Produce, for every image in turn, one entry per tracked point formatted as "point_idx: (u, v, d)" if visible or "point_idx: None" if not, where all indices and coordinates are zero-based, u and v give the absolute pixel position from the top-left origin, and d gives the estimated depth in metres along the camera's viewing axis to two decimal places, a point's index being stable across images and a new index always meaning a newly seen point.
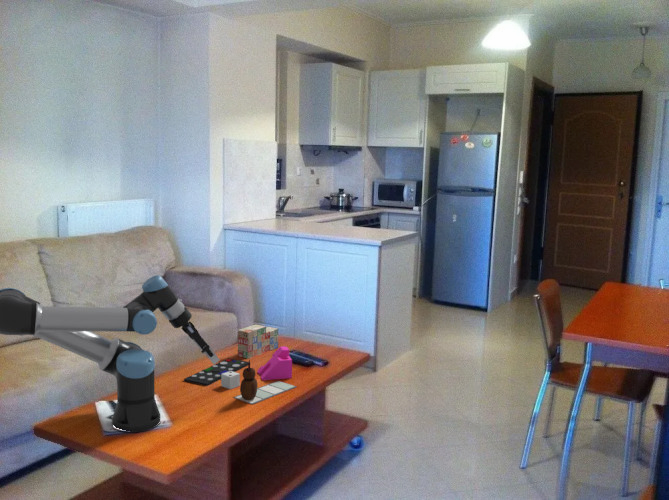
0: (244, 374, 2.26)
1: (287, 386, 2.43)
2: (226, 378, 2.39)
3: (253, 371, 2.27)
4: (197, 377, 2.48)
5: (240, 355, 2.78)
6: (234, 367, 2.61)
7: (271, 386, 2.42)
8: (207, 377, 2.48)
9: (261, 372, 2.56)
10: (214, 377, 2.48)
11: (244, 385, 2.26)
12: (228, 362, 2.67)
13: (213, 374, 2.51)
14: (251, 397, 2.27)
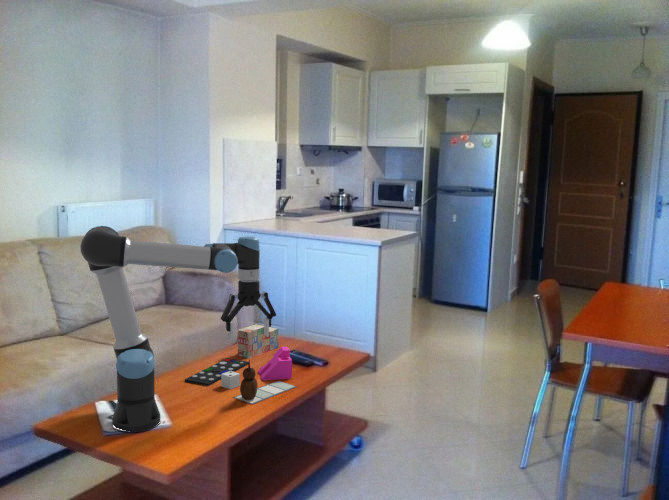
0: (244, 374, 2.26)
1: (287, 386, 2.43)
2: (226, 378, 2.39)
3: (253, 371, 2.27)
4: (198, 377, 2.47)
5: (240, 355, 2.79)
6: (234, 367, 2.61)
7: (271, 386, 2.42)
8: (208, 377, 2.48)
9: (262, 372, 2.56)
10: (215, 377, 2.48)
11: (244, 385, 2.26)
12: (227, 362, 2.67)
13: (213, 374, 2.51)
14: (251, 397, 2.27)
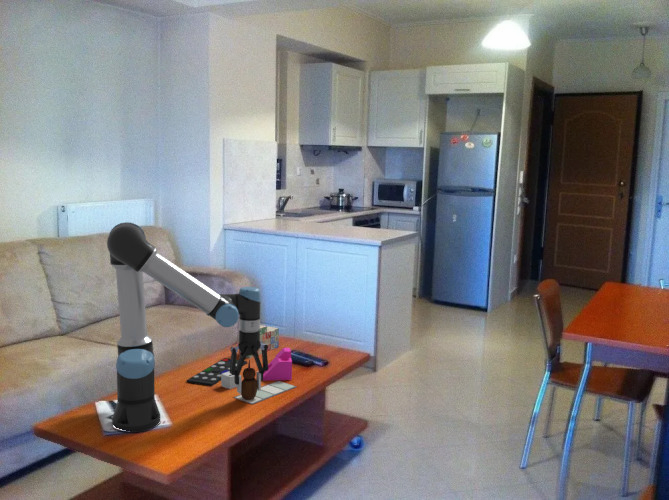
0: (244, 374, 2.26)
1: (287, 386, 2.43)
2: (226, 378, 2.39)
3: (253, 371, 2.27)
4: (199, 378, 2.47)
5: None
6: None
7: (271, 386, 2.42)
8: (210, 377, 2.48)
9: None
10: (217, 377, 2.48)
11: (244, 385, 2.26)
12: (225, 362, 2.67)
13: (215, 374, 2.51)
14: (251, 397, 2.27)
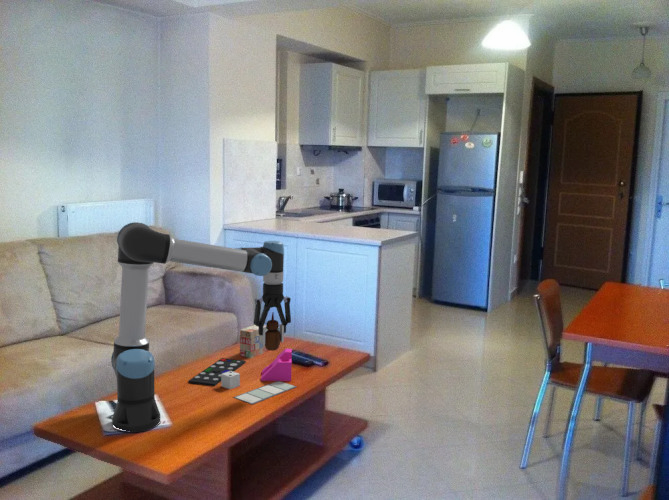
0: (268, 325, 2.34)
1: (287, 386, 2.43)
2: (226, 378, 2.39)
3: (276, 323, 2.34)
4: (201, 378, 2.47)
5: (242, 355, 2.79)
6: (233, 366, 2.62)
7: (271, 386, 2.42)
8: (211, 377, 2.48)
9: (264, 372, 2.56)
10: (218, 377, 2.48)
11: (268, 336, 2.33)
12: (224, 362, 2.67)
13: (215, 374, 2.51)
14: (275, 348, 2.34)
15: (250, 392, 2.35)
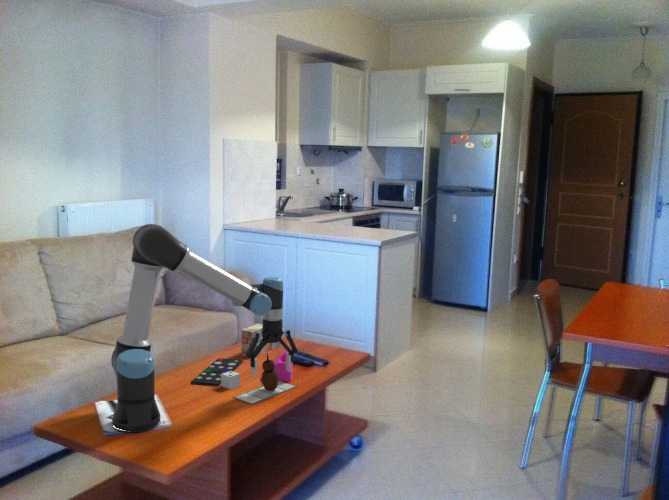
0: (264, 366, 2.35)
1: (287, 386, 2.43)
2: (226, 378, 2.39)
3: (272, 363, 2.36)
4: (203, 378, 2.46)
5: (244, 354, 2.79)
6: (232, 366, 2.62)
7: None
8: (213, 377, 2.48)
9: None
10: (220, 377, 2.48)
11: (265, 377, 2.35)
12: (221, 362, 2.67)
13: (217, 374, 2.51)
14: (273, 387, 2.36)
15: (250, 392, 2.35)
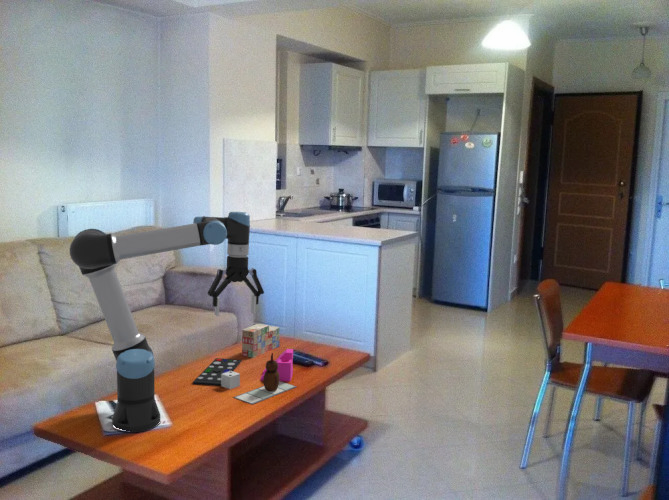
0: (267, 366, 2.36)
1: (287, 386, 2.43)
2: (226, 378, 2.39)
3: (276, 363, 2.37)
4: (205, 379, 2.46)
5: (245, 354, 2.79)
6: (231, 365, 2.62)
7: None
8: (215, 377, 2.48)
9: None
10: None
11: (267, 377, 2.35)
12: (220, 362, 2.67)
13: (217, 374, 2.52)
14: (274, 388, 2.36)
15: (250, 392, 2.35)
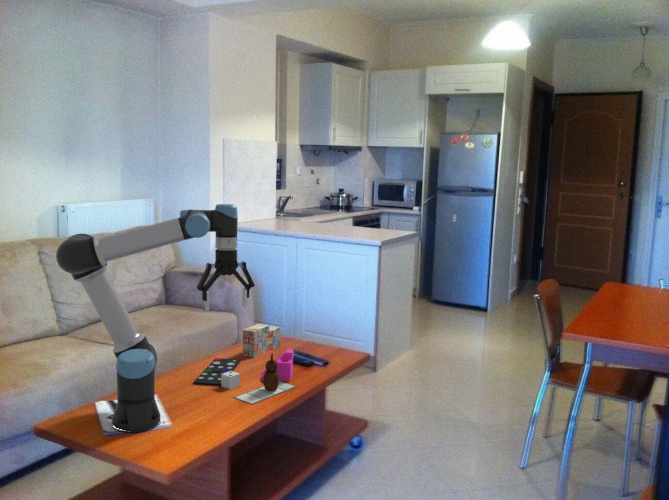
0: (267, 366, 2.36)
1: (287, 386, 2.43)
2: (226, 378, 2.39)
3: (276, 363, 2.37)
4: (205, 379, 2.46)
5: (245, 354, 2.79)
6: (231, 365, 2.62)
7: None
8: (215, 377, 2.48)
9: None
10: None
11: (267, 377, 2.35)
12: (220, 362, 2.67)
13: (218, 374, 2.52)
14: (274, 388, 2.36)
15: (250, 392, 2.35)
